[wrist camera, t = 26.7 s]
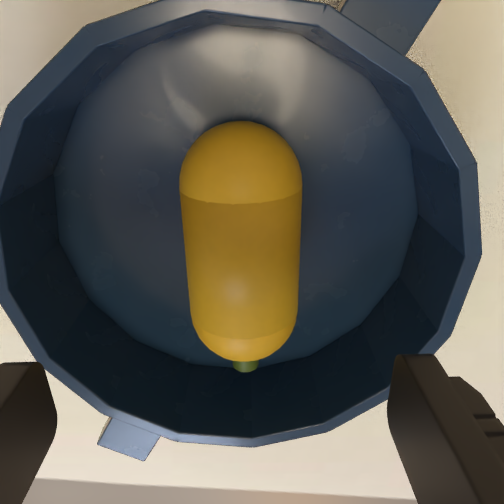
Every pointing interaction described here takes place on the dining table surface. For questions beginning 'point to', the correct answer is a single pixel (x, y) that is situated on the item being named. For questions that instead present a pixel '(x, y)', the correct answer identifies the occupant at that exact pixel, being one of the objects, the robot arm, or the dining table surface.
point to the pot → (170, 216)
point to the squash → (242, 239)
